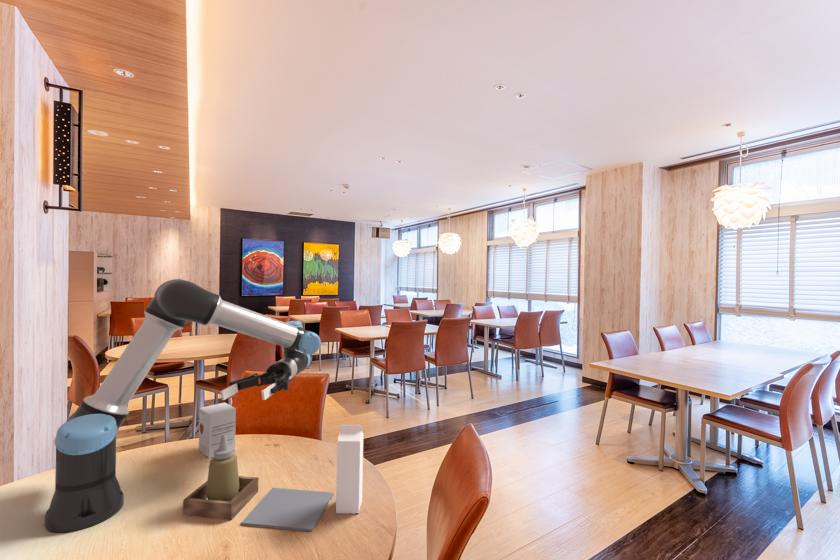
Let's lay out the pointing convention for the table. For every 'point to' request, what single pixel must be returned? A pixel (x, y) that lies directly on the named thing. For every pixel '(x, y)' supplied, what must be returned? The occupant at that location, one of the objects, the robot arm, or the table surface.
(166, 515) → the table surface
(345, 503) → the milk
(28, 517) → the table surface
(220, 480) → the squeeze bottle
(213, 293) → the robot arm
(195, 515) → the walnut tray
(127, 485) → the table surface
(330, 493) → the slate mat
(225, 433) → the supplement box
